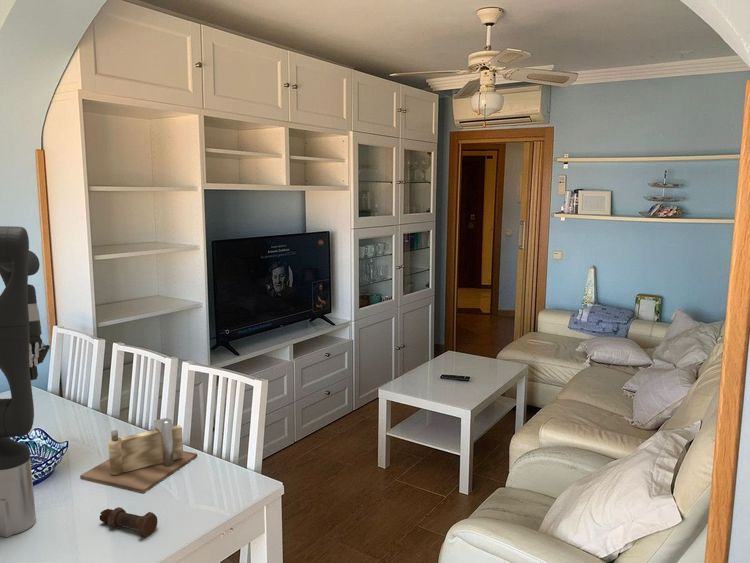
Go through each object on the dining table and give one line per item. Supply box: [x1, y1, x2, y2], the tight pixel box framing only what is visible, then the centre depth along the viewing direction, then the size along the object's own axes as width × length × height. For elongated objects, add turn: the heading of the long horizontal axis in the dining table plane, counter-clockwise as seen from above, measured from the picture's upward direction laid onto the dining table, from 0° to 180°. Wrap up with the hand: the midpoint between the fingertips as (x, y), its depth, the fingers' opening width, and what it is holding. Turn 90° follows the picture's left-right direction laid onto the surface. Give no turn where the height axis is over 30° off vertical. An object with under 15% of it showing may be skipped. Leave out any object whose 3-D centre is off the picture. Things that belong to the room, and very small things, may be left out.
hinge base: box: [79, 429, 198, 494], centre depth 177 cm, size 24×23×14 cm
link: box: [107, 424, 184, 475], centre depth 176 cm, size 21×4×10 cm, turn 124°
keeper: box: [153, 417, 174, 467], centre depth 178 cm, size 4×8×14 cm, turn 35°
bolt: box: [99, 507, 158, 538], centre depth 146 cm, size 6×5×15 cm
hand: (32, 379), depth 169 cm, fingers closed
